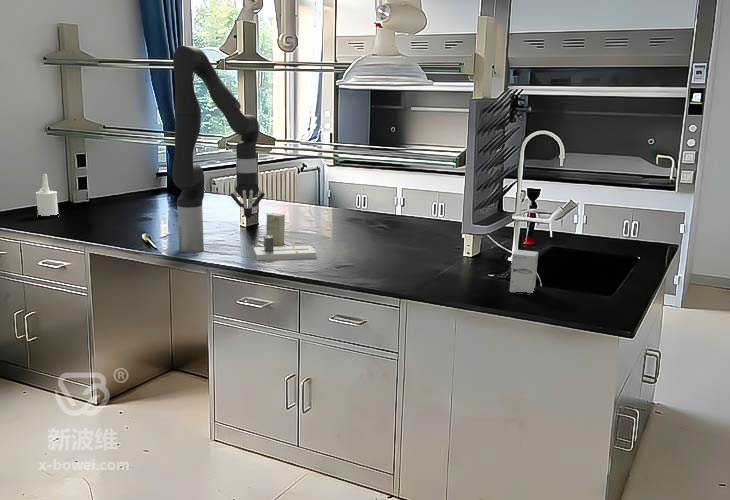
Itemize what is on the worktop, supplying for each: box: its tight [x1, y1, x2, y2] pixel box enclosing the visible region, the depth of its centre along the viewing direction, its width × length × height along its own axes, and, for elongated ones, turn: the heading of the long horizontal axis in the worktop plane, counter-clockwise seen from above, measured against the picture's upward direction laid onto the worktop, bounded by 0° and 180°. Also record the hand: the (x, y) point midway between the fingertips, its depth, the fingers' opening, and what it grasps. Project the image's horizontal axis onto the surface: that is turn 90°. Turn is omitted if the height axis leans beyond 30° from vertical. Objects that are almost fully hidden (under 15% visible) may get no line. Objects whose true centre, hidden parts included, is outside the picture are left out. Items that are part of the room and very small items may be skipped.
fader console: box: [253, 245, 317, 261], centre depth 263 cm, size 22×12×2 cm, turn 104°
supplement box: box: [509, 249, 539, 294], centre depth 221 cm, size 7×7×13 cm
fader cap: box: [263, 235, 274, 251], centre depth 261 cm, size 3×5×5 cm, turn 14°
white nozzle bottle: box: [35, 173, 59, 216], centre depth 327 cm, size 10×9×20 cm
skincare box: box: [265, 212, 286, 247], centre depth 280 cm, size 6×4×12 cm
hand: (248, 218), depth 257 cm, fingers closed
